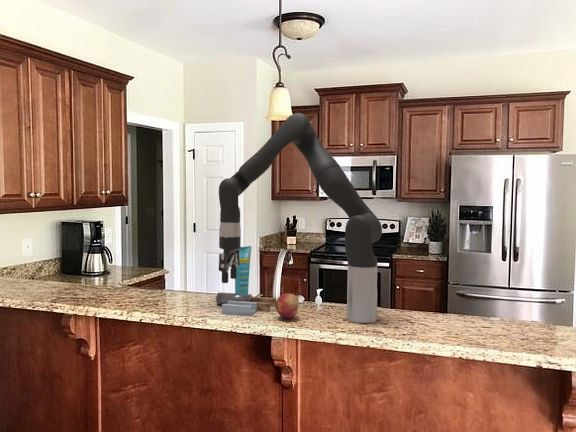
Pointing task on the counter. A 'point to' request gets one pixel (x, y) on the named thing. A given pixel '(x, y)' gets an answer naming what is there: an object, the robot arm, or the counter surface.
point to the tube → (243, 270)
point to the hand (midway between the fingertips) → (229, 280)
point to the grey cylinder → (232, 297)
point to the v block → (239, 308)
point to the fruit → (287, 305)
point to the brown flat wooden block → (263, 303)
